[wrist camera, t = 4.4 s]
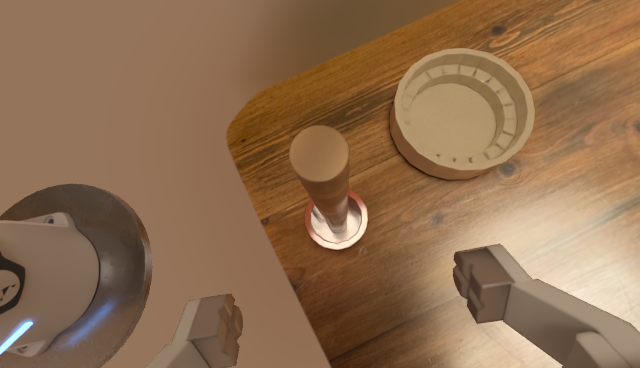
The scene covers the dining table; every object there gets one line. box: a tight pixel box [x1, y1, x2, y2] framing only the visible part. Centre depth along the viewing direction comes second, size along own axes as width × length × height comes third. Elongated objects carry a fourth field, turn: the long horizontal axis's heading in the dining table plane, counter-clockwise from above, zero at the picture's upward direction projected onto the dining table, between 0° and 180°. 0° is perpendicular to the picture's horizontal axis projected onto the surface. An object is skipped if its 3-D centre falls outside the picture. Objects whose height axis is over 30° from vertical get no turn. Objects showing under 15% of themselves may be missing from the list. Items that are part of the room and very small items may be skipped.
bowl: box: [390, 48, 535, 180], centre depth 37 cm, size 16×16×5 cm
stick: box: [289, 125, 349, 233], centre depth 24 cm, size 2×2×26 cm
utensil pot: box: [305, 188, 368, 251], centre depth 34 cm, size 7×7×7 cm
